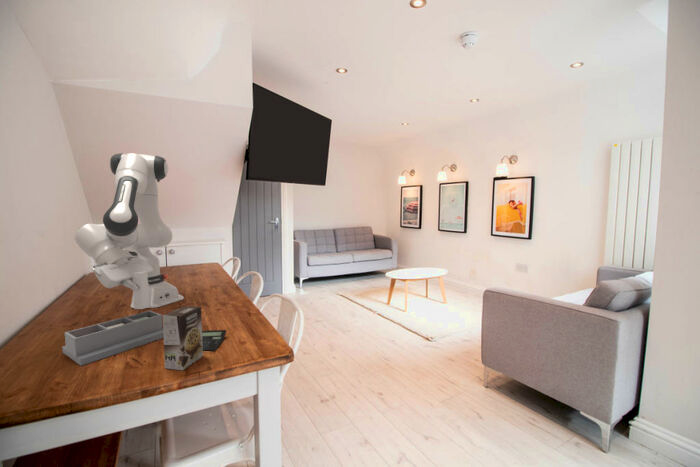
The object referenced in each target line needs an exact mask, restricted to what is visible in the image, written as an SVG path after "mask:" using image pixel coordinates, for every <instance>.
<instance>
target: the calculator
mask: <svg viewBox="0 0 700 467" xmlns="http://www.w3.org/2000/svg"><path fill="white" fill-rule="evenodd" d="M226 334H227V329H216V330H211V329H210V330H202V342H203V351H211V352H216V351H217V350H218V349H219V348H220V346H221V345H222V344H223V342H224V340H225V336H226ZM222 341H223V342H222ZM220 344H221V345H220ZM219 345H220V346H219ZM216 349H217V350H216ZM215 350H216V351H215Z"/></svg>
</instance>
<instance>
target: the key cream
mask: <svg viewBox="0 0 700 467" xmlns="http://www.w3.org/2000/svg"><path fill="white" fill-rule="evenodd" d="M121 325H125V324H122V323H121V324H117V325H114V326H110V327H106V328H108V329H110V328H114V327H117V326H121Z"/></svg>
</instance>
